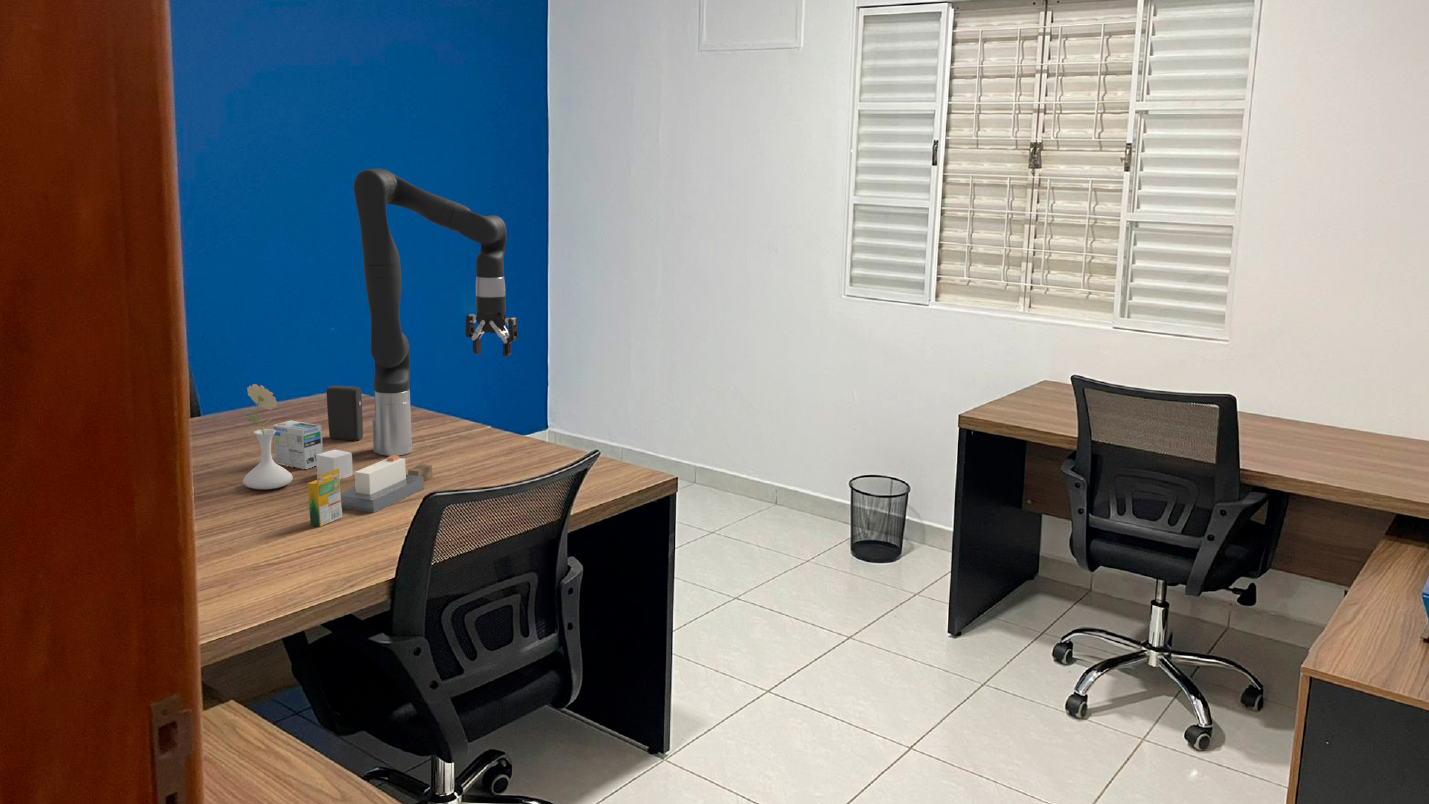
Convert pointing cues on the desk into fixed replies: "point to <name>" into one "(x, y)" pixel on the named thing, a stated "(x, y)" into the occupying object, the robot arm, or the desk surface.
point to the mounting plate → (382, 495)
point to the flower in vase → (265, 447)
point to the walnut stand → (421, 471)
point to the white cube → (335, 463)
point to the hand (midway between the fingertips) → (492, 355)
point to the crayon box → (325, 499)
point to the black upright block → (345, 412)
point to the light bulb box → (297, 443)
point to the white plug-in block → (380, 475)
